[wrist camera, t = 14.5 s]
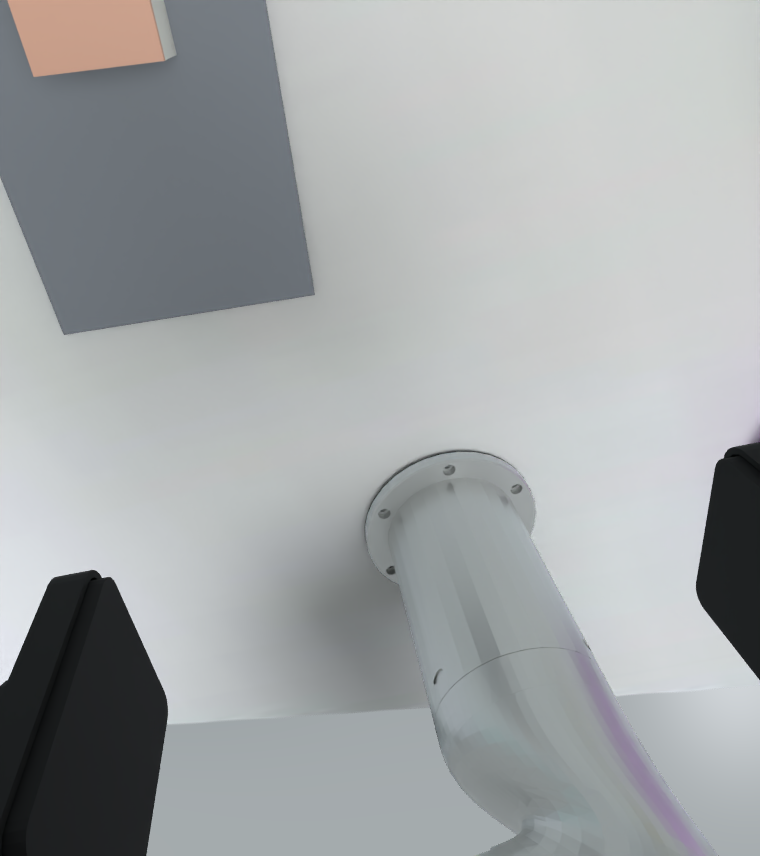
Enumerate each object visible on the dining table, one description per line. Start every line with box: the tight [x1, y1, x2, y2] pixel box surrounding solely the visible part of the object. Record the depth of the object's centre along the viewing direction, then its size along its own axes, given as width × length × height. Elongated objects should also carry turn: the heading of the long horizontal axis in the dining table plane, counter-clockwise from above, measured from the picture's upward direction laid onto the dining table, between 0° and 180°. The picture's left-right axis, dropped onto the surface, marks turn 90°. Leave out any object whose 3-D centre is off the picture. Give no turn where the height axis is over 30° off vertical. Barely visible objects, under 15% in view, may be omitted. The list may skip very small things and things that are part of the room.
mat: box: [0, 0, 315, 335], centre depth 30 cm, size 24×14×1 cm, turn 6°
